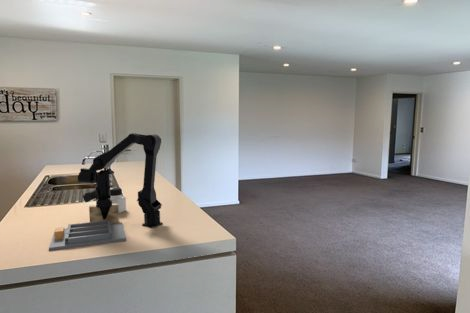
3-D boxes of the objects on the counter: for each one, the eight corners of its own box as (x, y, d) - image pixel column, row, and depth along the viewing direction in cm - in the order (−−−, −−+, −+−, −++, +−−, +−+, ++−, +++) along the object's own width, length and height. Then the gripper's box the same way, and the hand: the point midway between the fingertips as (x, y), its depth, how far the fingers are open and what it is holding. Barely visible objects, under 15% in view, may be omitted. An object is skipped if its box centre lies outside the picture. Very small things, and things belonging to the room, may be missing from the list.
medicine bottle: (126, 210, 172) (125, 187, 171) (118, 213, 166) (117, 189, 164) (114, 209, 174) (113, 186, 173) (105, 212, 168) (104, 189, 166)
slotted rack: (121, 224, 148) (121, 215, 148) (126, 240, 128) (126, 230, 128) (55, 231, 138) (54, 222, 138) (48, 250, 118) (48, 239, 118)
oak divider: (118, 220, 155) (117, 203, 154) (118, 222, 152) (118, 204, 151) (90, 223, 150) (89, 205, 149) (89, 225, 147) (89, 207, 147)
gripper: (83, 181, 155) (85, 214, 156) (82, 189, 138) (84, 226, 139) (109, 180, 159) (110, 212, 161) (111, 187, 142) (112, 223, 143)
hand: (104, 218), depth 151 cm, fingers closed on oak divider, 3 cm apart
